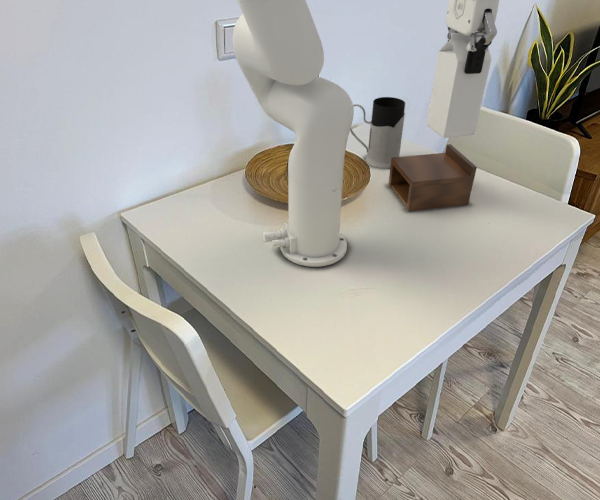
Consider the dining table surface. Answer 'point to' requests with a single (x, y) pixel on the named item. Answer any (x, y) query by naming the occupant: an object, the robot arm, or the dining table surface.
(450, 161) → the brown wooden box
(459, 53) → the milk carton
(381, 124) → the glass holder
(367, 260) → the dining table surface
